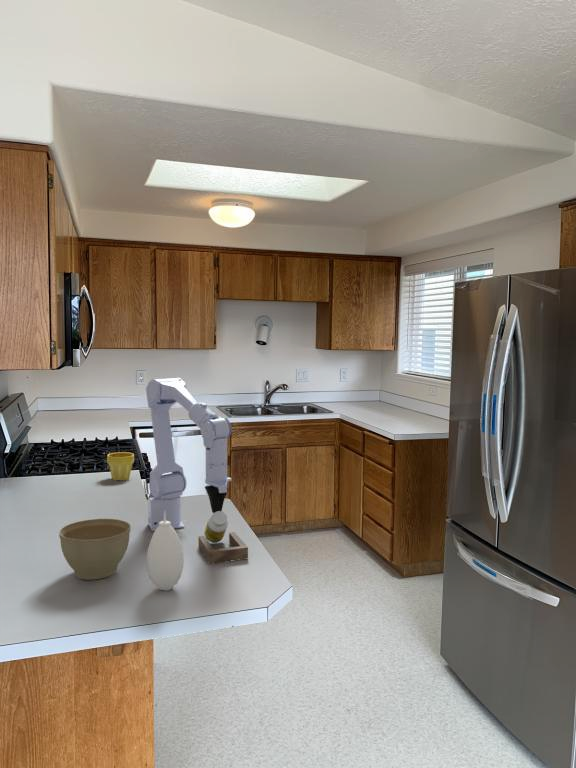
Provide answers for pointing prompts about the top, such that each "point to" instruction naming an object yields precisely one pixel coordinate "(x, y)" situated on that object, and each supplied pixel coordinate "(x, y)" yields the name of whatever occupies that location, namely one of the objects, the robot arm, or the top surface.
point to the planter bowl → (94, 546)
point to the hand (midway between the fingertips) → (216, 512)
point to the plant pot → (120, 465)
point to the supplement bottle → (216, 527)
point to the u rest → (224, 550)
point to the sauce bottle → (165, 556)
